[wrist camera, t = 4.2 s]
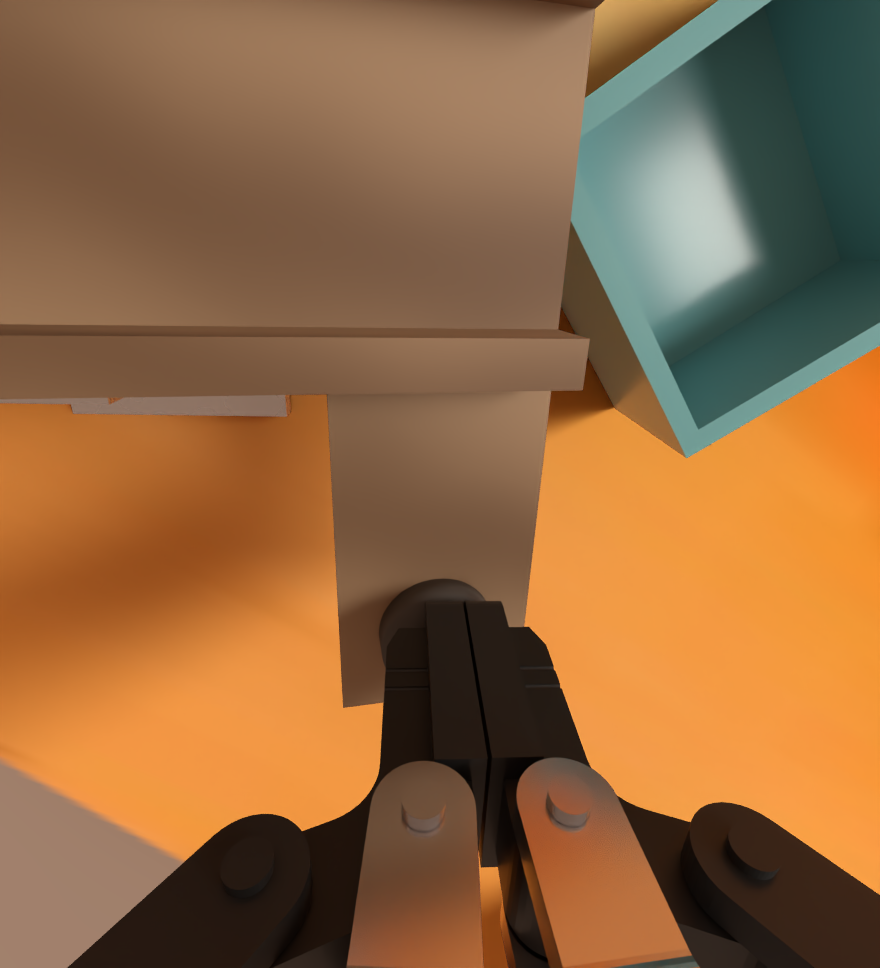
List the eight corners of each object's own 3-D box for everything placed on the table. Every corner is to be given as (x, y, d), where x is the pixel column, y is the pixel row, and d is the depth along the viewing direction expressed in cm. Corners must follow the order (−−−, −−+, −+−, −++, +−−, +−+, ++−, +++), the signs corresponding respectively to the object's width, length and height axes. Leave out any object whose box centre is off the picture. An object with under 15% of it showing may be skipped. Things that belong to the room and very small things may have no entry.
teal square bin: (845, 266, 15) (1013, 267, 11) (614, 408, 17) (686, 458, 12) (760, -21, 13) (940, -163, 8) (491, 175, 14) (530, 138, 10)
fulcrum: (291, 411, 16) (183, 553, 8) (84, 408, 16) (-238, 555, 8) (252, -69, 12) (-48, -728, 4) (-33, -91, 11) (-1004, -877, 4)
